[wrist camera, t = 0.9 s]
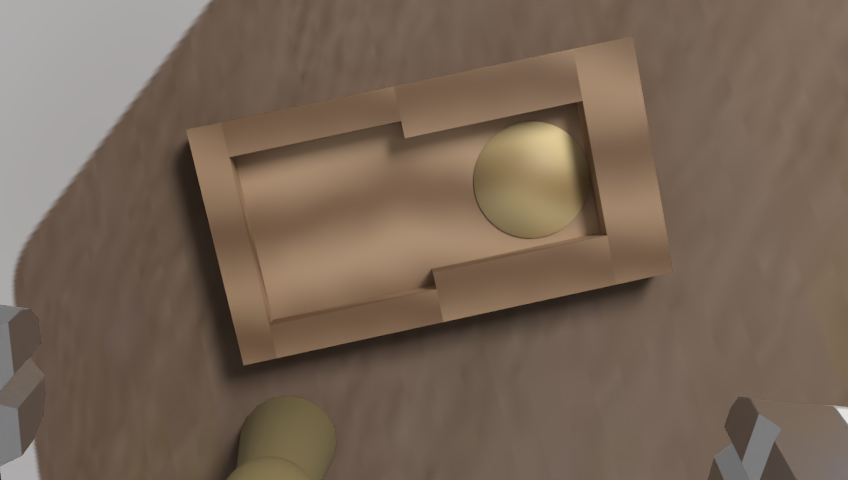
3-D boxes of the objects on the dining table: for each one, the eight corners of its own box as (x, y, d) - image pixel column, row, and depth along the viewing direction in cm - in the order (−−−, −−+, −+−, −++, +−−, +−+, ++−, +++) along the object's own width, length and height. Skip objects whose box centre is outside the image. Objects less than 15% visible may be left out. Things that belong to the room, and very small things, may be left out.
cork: (219, 435, 50) (174, 515, 39) (295, 376, 50) (271, 440, 39) (280, 507, 51) (253, 605, 40) (356, 449, 51) (349, 532, 40)
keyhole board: (659, 266, 51) (673, 272, 48) (250, 354, 50) (243, 365, 47) (620, 41, 49) (632, 36, 46) (195, 130, 48) (186, 129, 46)
